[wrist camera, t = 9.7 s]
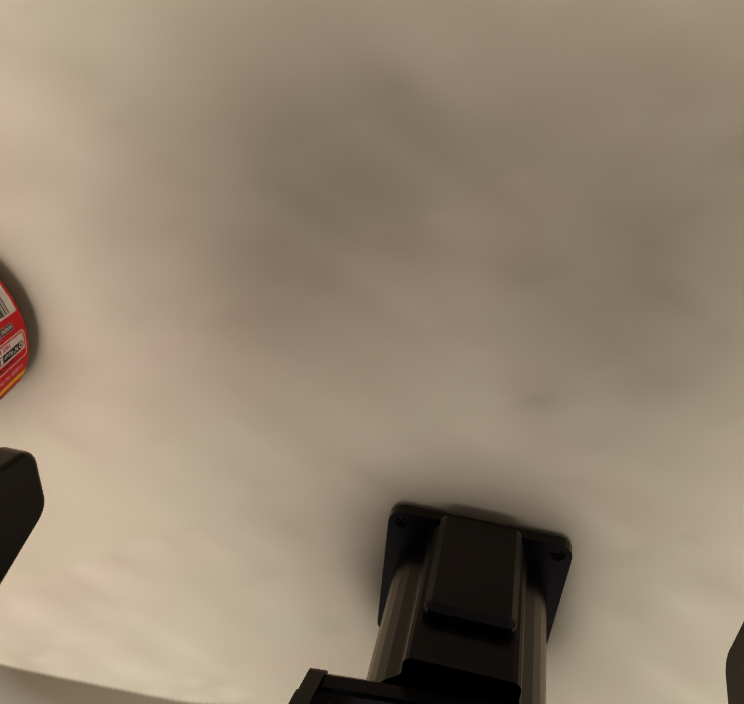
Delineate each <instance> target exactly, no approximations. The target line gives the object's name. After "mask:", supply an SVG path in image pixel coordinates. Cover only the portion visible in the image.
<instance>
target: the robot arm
mask: <svg viewBox="0 0 744 704" xmlns="http://www.w3.org/2000/svg"><path fill="white" fill-rule="evenodd" d="M43 507H44V494H43V490H42V486H41V481H40V477H39V472H38V468H37V463H36V460H35V458H34V457H33V455H32V454H31V453H29V452H26V451H22V450H17V449H12V448H7V447H1V448H0V584H1V582H2V581H3V579H4V577H5V575H6V574H7V572H8V570H9V569H10V567H11V565H12V564H13V562H14V560H15V559H16V557H17V555H18V554H19V552H20V550H21V549H22V547H23V545H24V544H25V542H26V540H27V539H28V537H29V535H30V534H31V532H32V530H33V529H34V527H35V525H36V523H37V522H38V520H39V518H40V516H41V514H42V511H43ZM399 517H403V518H405V519H407V521H403V520H401V519H400V518H399ZM554 550H560V551H562V552H560V553H556V552H553V551H554ZM571 560H572V545H571V544H570V542H569V541H568V540H566V539H565V538H562V537H559V536H554V535H549V534H544V533H539V532H534V531H529V530H525V529H520V528H515V527H510V526H505V525H500V524H495V523H491V522H486V521H481V520H476V519H471V518H466V517H461V516H457V515H452V514H447V513H442V512H437V511H432V510H427V509H423V508H418V507H413V506H408V505H397V506H395V507H394V508H393V509H392V511H391V513H390V517H389V521H388V530H387V540H386V549H385V558H384V568H383V577H382V586H381V596H380V605H379V615H378V626H379V627H380V628H379V632H378V636H377V640H376V644H375V648H374V652H373V656H372V659H371V663H370V667H369V671H368V675H367V679H366V680H364V679H358V678H351V677H345V676H339V675H332V674H328V672H327V670H320V669H314V668H310V669H309V671H308V672H307V674H306V676H305V678H304V680H303V682H302V684H301V685H300V687H299V689H297V690H296V691H295V693H294V695H293V696H292V698H291V700H290V702H289V704H546V645H547V641H548V638H549V635H550V631H551V628H552V625H553V621H554V618H555V614H556V611H557V608H558V604H559V601H560V598H561V594H562V591H563V587H564V584H565V581H566V577H567V574H568V571H569V567H570V564H571ZM726 682H727V693H728V704H744V622H743V624H742V626H741V628H740V630H739V632H738V634H737V636H736V638H735V640H734V642H733V644H732V646H731V648H730V650H729V653H728V656H727V661H726Z"/></svg>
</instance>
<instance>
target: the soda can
mask: <svg viewBox="0 0 744 704" xmlns="http://www.w3.org/2000/svg"><path fill="white" fill-rule="evenodd" d="M28 355H29V344H28V336H27V332H26V328H25V324H24V321H23V319H22V316H21V314H20V311H19V309H18V307H17V305H16V303H15V301H14V300H13V298H12V296H11V294H10V293H9V292H8V290H7V289H6V287H5V286H4V285H3V283H2V282H1V281H0V400H1V399H2V398H3V397H4V396H5V395H6V394H7V393H8V392H9V391H10V390H11V389H12V388H13V387H14V386H15V385H16V384H17V383H18V382H19V381H20V379H21V377H22V376H23V374H24V372H25V370H26V366H27V363H28Z"/></svg>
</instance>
